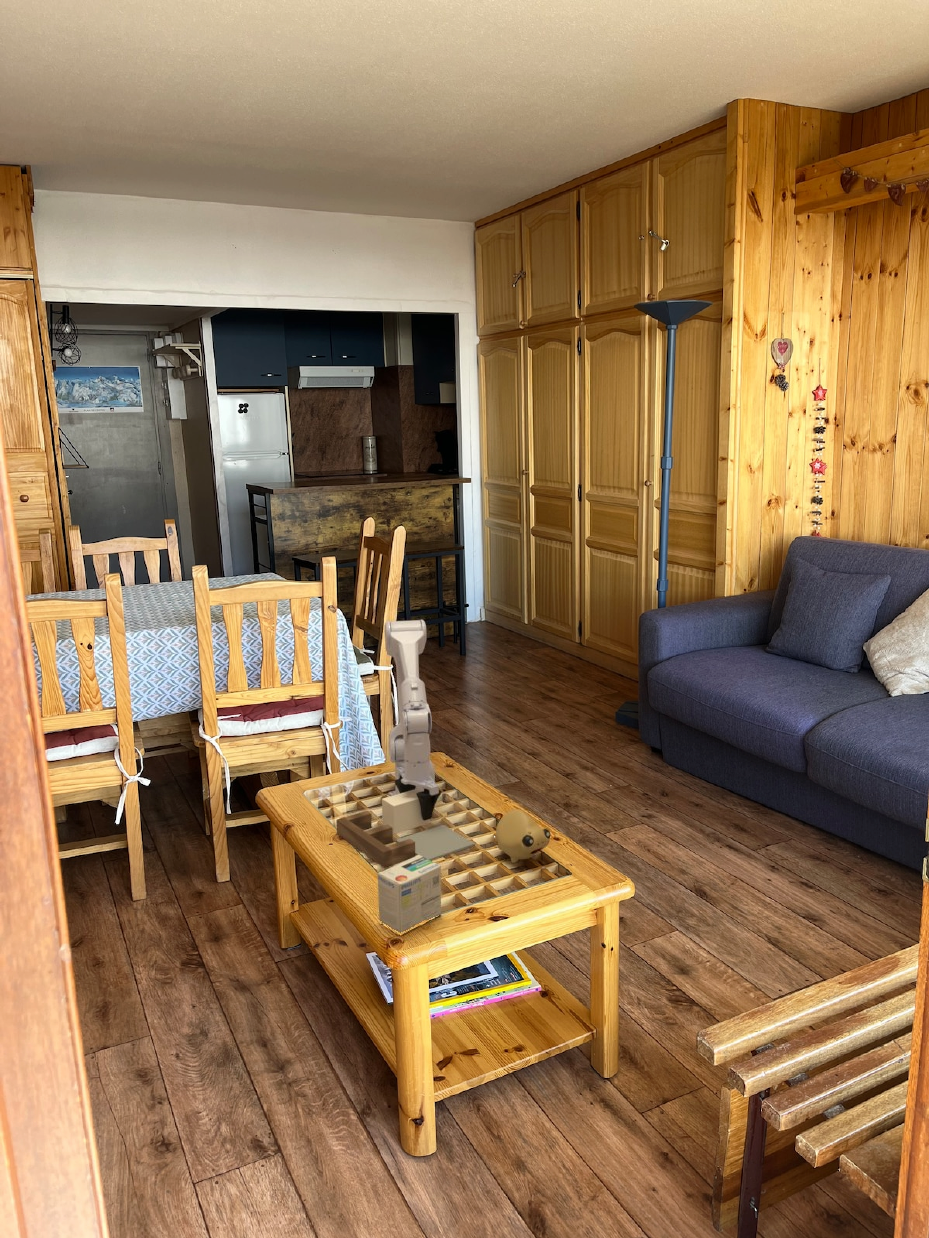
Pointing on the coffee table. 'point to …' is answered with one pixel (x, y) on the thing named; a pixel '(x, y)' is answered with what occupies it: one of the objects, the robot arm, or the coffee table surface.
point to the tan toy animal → (520, 835)
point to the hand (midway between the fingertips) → (417, 813)
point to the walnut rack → (374, 839)
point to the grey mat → (438, 842)
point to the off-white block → (402, 811)
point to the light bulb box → (409, 893)
